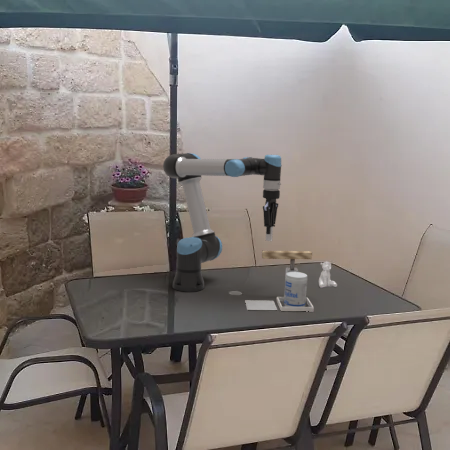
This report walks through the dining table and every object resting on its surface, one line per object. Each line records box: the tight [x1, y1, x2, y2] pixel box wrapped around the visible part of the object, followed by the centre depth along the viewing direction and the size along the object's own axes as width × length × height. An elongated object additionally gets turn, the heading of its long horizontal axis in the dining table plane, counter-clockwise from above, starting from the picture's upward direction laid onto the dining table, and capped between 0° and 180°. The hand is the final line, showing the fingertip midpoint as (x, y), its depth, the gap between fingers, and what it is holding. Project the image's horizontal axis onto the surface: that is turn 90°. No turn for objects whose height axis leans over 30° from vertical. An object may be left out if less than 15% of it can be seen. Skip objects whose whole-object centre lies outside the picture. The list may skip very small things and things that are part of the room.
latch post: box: [284, 266, 299, 278], centre depth 275 cm, size 5×5×14 cm
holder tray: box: [276, 296, 315, 313], centre depth 265 cm, size 14×14×2 cm
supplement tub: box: [283, 271, 308, 307], centre depth 264 cm, size 10×10×15 cm
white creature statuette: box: [318, 261, 338, 289], centre depth 299 cm, size 10×9×12 cm
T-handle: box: [261, 250, 313, 269], centre depth 273 cm, size 22×3×8 cm, turn 94°
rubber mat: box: [244, 299, 278, 311], centre depth 264 cm, size 13×13×1 cm
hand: (268, 240), depth 274 cm, fingers closed
